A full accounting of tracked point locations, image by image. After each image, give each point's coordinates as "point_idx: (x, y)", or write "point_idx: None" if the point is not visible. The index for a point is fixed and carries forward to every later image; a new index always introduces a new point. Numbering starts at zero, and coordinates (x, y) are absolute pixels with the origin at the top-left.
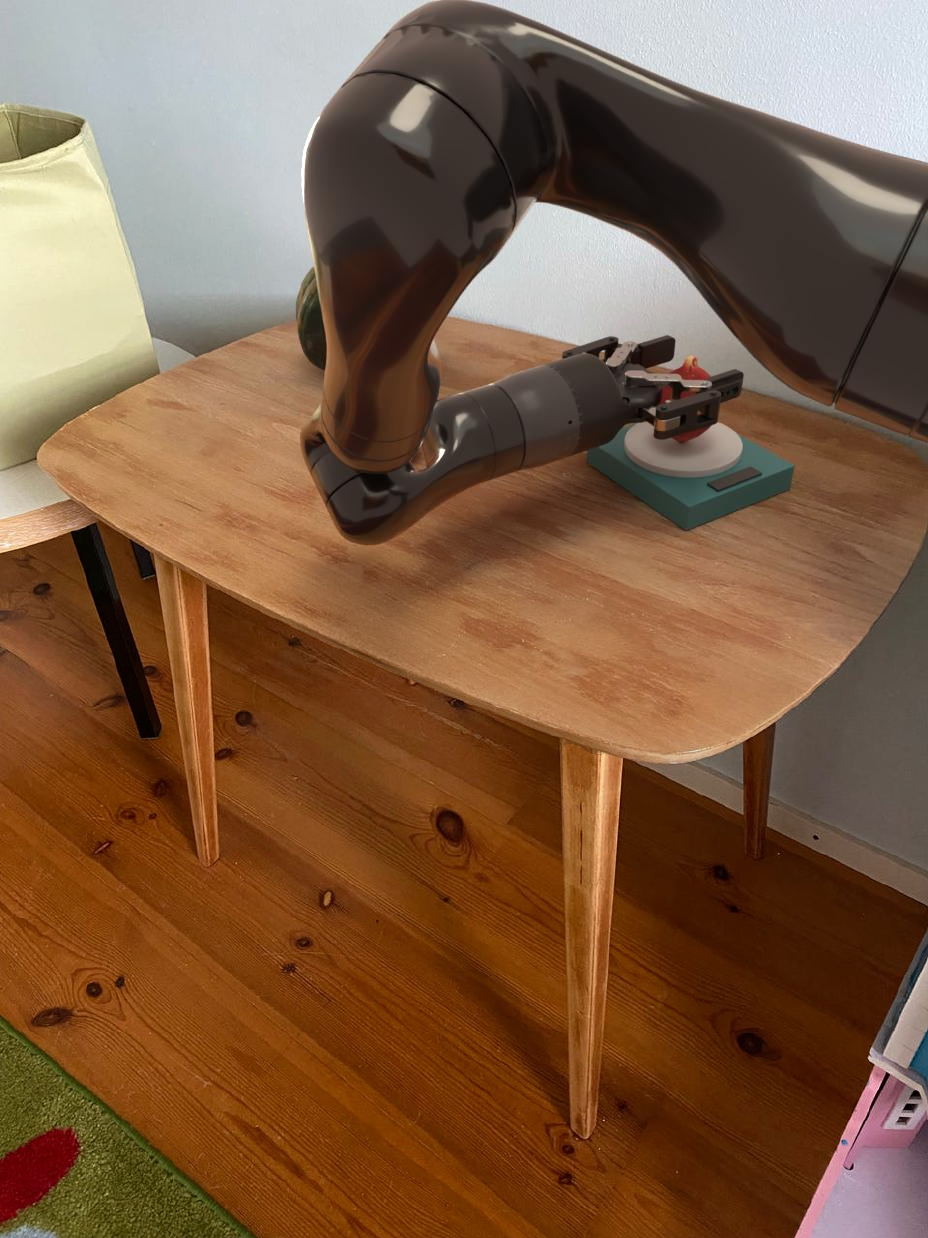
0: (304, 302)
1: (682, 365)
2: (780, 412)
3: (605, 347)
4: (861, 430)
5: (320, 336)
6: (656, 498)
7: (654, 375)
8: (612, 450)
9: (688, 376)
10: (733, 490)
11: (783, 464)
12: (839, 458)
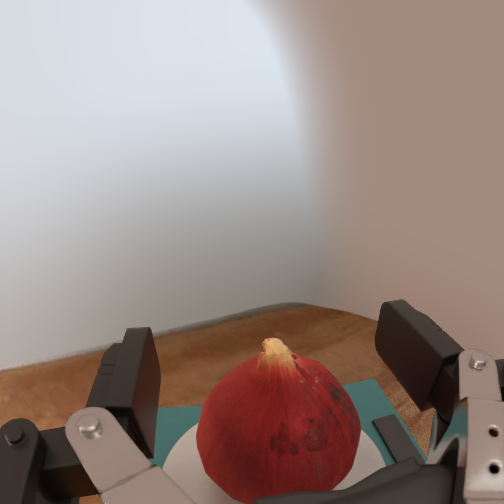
0: None
1: (271, 378)
2: (199, 342)
3: (32, 490)
4: (271, 314)
5: None
6: None
7: (486, 470)
8: None
9: (316, 390)
10: (426, 458)
11: (370, 386)
12: (314, 344)
